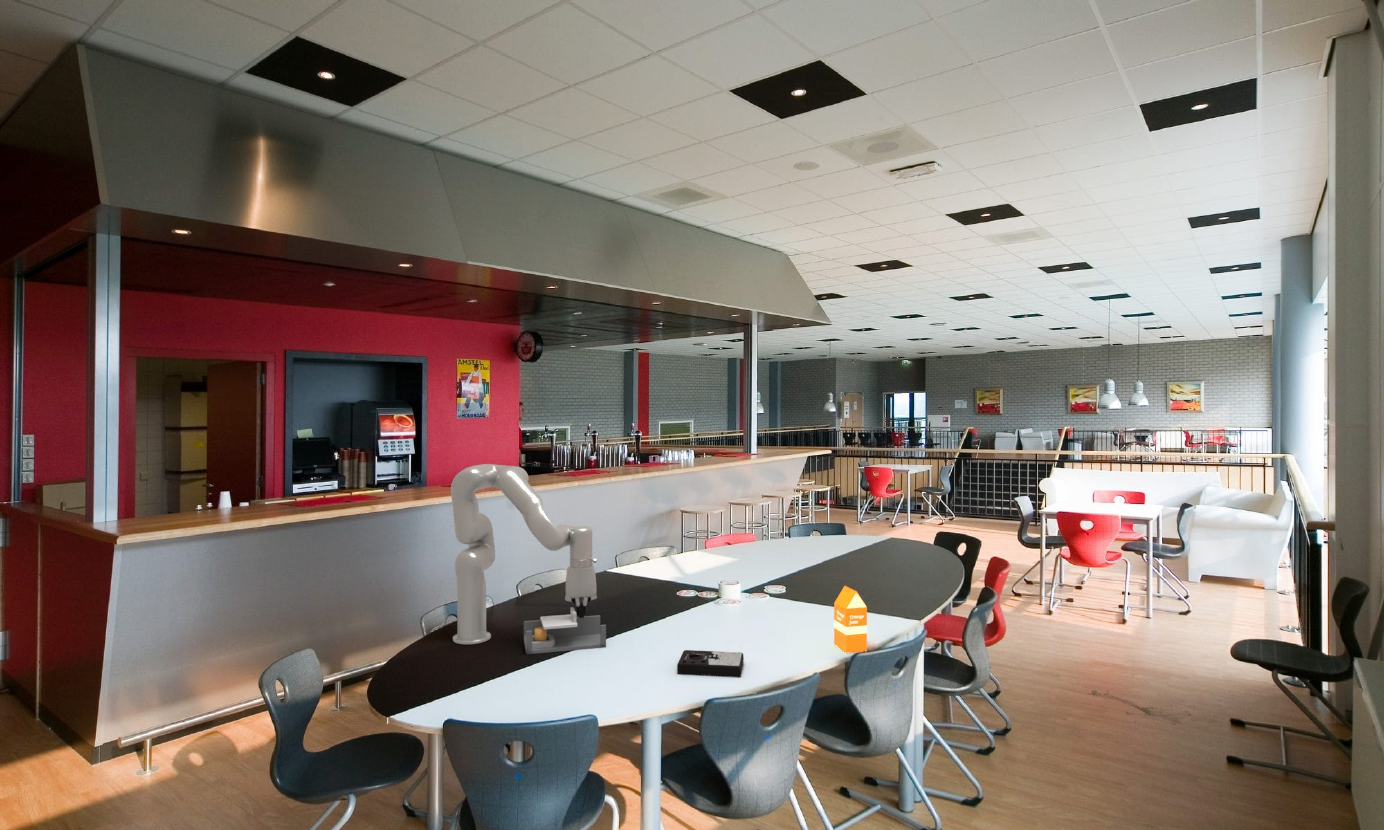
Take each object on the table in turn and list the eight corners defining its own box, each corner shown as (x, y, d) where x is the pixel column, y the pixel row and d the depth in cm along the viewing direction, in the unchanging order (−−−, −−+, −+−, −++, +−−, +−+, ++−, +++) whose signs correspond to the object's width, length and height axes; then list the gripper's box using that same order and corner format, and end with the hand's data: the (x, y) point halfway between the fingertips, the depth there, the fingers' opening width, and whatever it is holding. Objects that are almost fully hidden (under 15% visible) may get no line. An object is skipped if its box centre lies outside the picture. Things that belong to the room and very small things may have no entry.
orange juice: (845, 653, 244) (846, 592, 244) (833, 645, 252) (833, 585, 252) (867, 651, 246) (867, 590, 246) (854, 643, 254) (854, 584, 254)
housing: (523, 642, 255) (523, 621, 255) (599, 635, 262) (599, 615, 262) (526, 654, 242) (526, 631, 242) (606, 646, 250) (606, 625, 250)
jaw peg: (534, 642, 251) (534, 627, 252) (546, 641, 252) (546, 626, 252) (534, 645, 248) (534, 630, 248) (546, 645, 248) (546, 629, 248)
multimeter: (683, 661, 238) (683, 645, 238) (743, 663, 235) (743, 647, 235) (676, 675, 225) (676, 659, 225) (740, 678, 222) (740, 661, 222)
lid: (540, 618, 256) (540, 607, 256) (572, 616, 259) (572, 605, 259) (543, 629, 244) (543, 617, 244) (577, 626, 247) (577, 615, 247)
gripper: (601, 559, 259) (600, 612, 259) (557, 562, 255) (557, 615, 255) (604, 564, 252) (604, 618, 252) (560, 566, 248) (560, 621, 248)
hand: (580, 616), depth 254 cm, fingers closed
